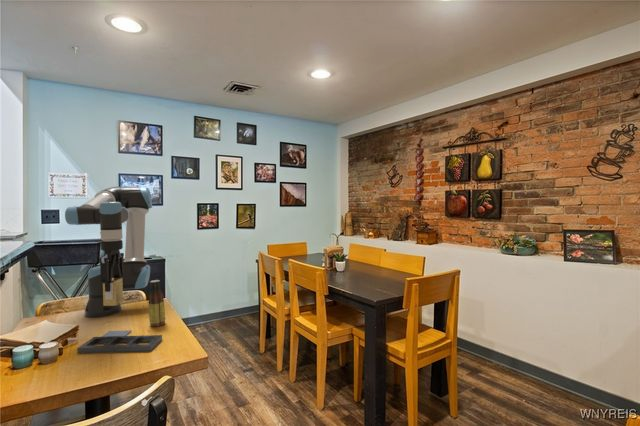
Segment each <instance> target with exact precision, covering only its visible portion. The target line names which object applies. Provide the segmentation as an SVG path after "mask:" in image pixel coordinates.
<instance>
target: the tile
mask: <svg viewBox="0 0 640 426" xmlns="http://www.w3.org/2000/svg"><path fill="white" fill-rule="evenodd" d="M131 333H132V330H131V329H130V330H129V329H128V330H125V329H124V330H109V331H107V332H106V333H104V334H103V335H101V336H100V337H107V336H129V334H131Z"/></svg>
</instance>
